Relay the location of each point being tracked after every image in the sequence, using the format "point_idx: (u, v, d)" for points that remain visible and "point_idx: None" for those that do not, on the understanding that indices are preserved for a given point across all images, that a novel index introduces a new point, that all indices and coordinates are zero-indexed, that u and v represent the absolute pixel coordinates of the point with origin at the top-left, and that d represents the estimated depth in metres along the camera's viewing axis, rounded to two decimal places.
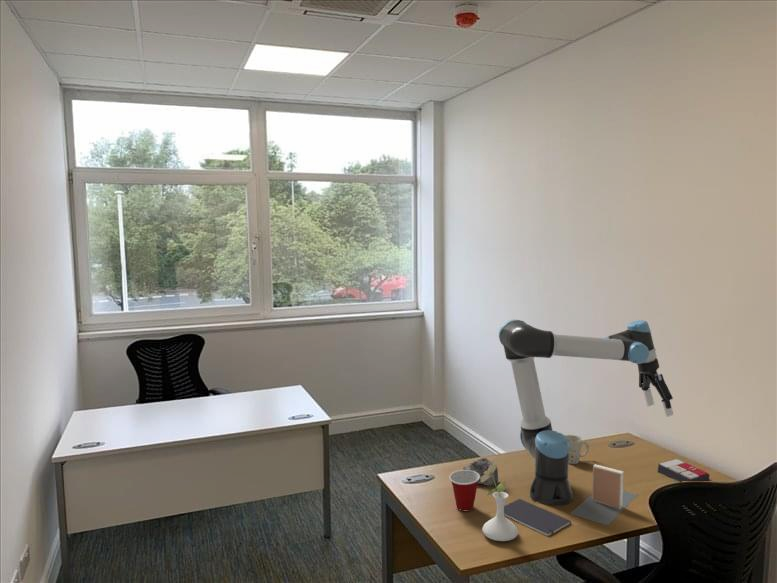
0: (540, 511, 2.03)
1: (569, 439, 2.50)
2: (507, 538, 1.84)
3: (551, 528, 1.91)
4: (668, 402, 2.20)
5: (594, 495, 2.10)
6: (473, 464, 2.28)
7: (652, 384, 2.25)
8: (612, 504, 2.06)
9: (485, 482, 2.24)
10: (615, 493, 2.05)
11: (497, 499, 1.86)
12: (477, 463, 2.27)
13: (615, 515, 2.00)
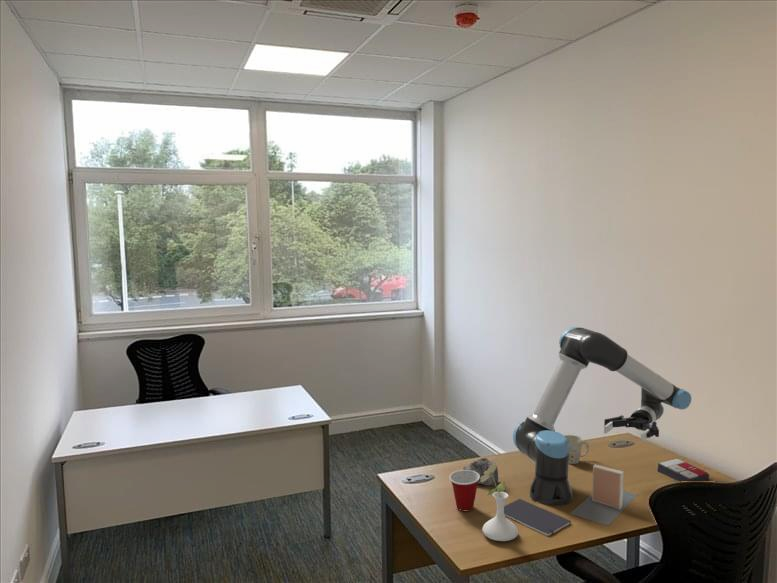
0: (540, 511, 2.03)
1: (569, 439, 2.50)
2: (507, 538, 1.84)
3: (551, 528, 1.91)
4: None
5: (594, 495, 2.10)
6: (473, 464, 2.28)
7: (643, 422, 2.24)
8: (612, 504, 2.06)
9: (485, 482, 2.25)
10: (615, 493, 2.05)
11: (497, 499, 1.86)
12: (477, 463, 2.27)
13: (615, 515, 2.00)
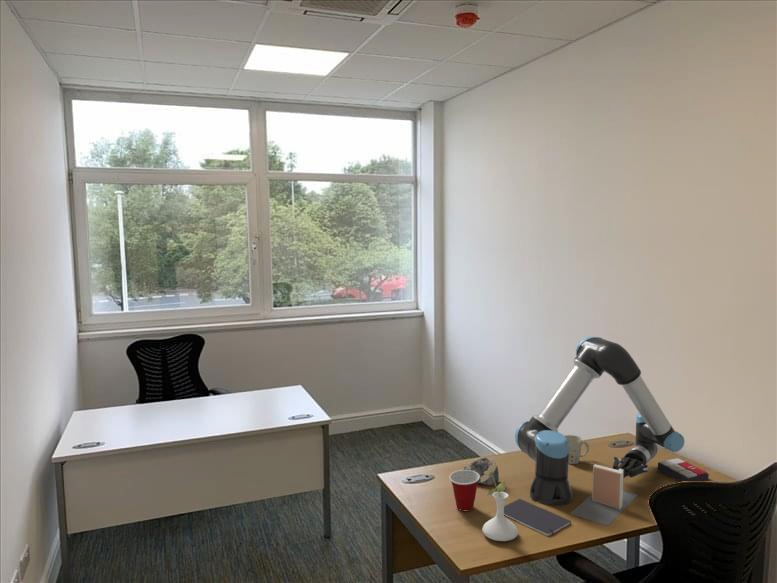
0: (540, 511, 2.03)
1: (569, 439, 2.50)
2: (507, 538, 1.84)
3: (551, 528, 1.91)
4: None
5: (594, 495, 2.10)
6: (473, 464, 2.29)
7: (631, 462, 2.23)
8: (612, 504, 2.06)
9: (485, 482, 2.25)
10: (615, 493, 2.05)
11: (497, 499, 1.86)
12: (477, 463, 2.27)
13: (615, 515, 2.00)
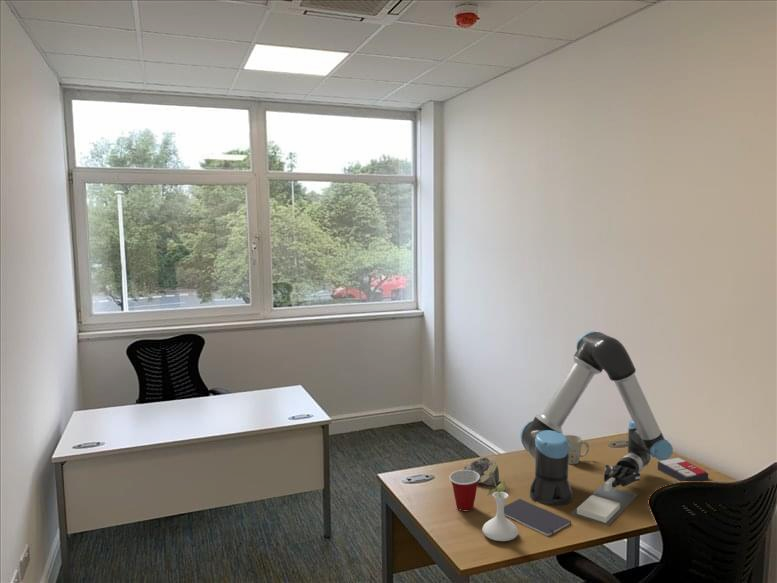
0: (540, 511, 2.03)
1: (569, 439, 2.50)
2: (507, 538, 1.84)
3: (551, 528, 1.91)
4: None
5: None
6: (474, 463, 2.29)
7: (623, 470, 2.16)
8: None
9: (485, 481, 2.25)
10: None
11: (497, 499, 1.86)
12: (478, 462, 2.28)
13: (615, 515, 2.00)
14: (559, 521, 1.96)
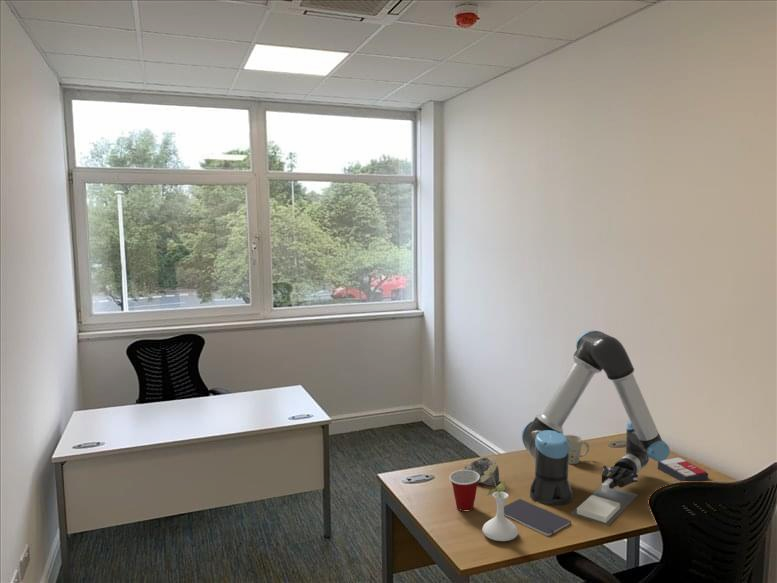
0: (540, 511, 2.03)
1: (569, 439, 2.50)
2: (507, 538, 1.84)
3: (551, 528, 1.91)
4: None
5: None
6: (474, 463, 2.29)
7: (621, 471, 2.15)
8: None
9: (485, 481, 2.25)
10: None
11: (497, 499, 1.86)
12: (478, 462, 2.28)
13: (615, 515, 2.00)
14: (559, 521, 1.96)
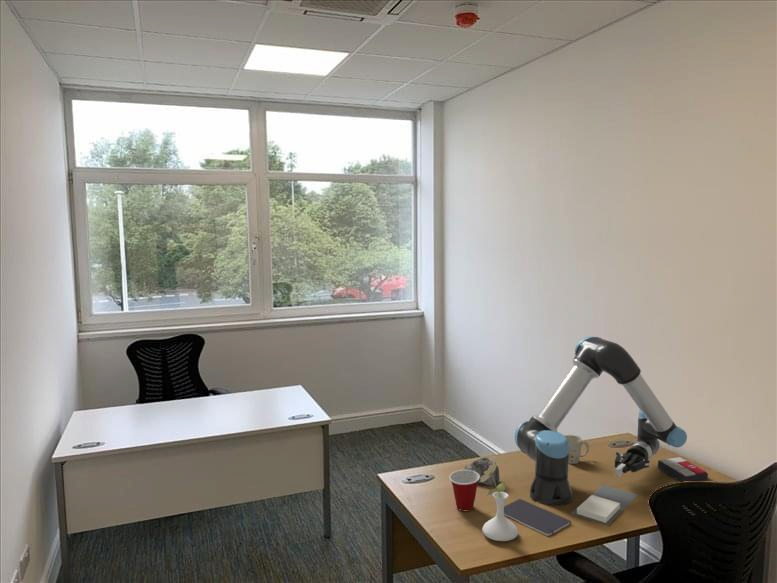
0: (540, 511, 2.03)
1: (569, 439, 2.50)
2: (507, 538, 1.84)
3: (551, 528, 1.91)
4: None
5: None
6: (474, 463, 2.29)
7: (633, 457, 2.24)
8: None
9: (485, 481, 2.25)
10: None
11: (497, 499, 1.86)
12: (478, 462, 2.28)
13: (615, 515, 2.00)
14: (559, 521, 1.96)
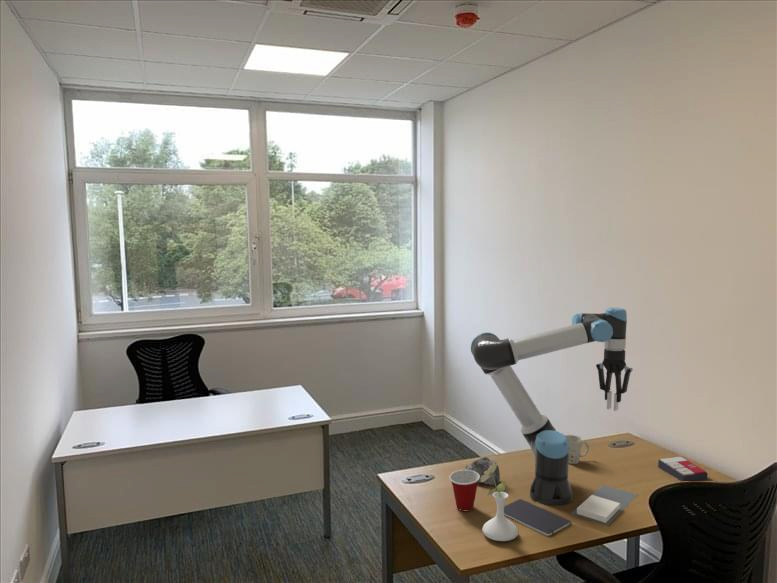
0: (540, 511, 2.03)
1: (569, 439, 2.50)
2: (507, 538, 1.84)
3: (551, 528, 1.91)
4: None
5: None
6: (474, 463, 2.29)
7: (615, 374, 2.20)
8: None
9: (485, 481, 2.25)
10: None
11: (497, 499, 1.86)
12: (478, 462, 2.28)
13: (615, 515, 2.00)
14: (559, 521, 1.96)
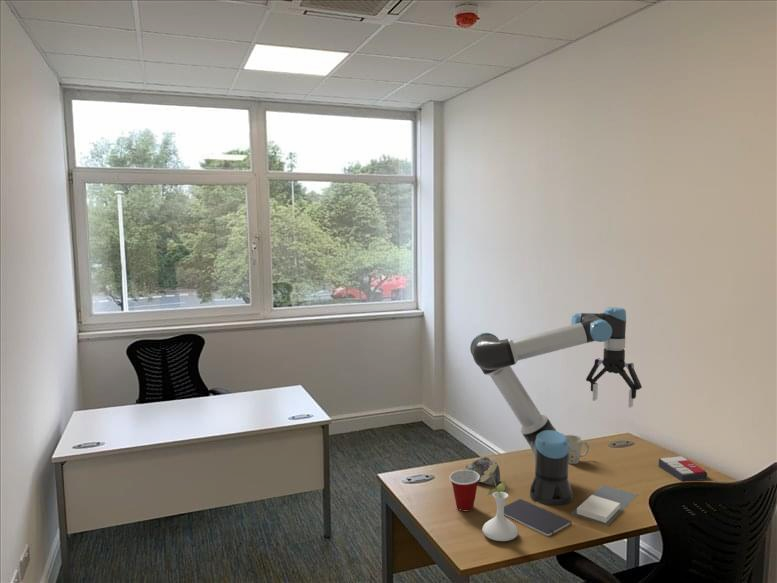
0: (540, 511, 2.03)
1: (569, 439, 2.50)
2: (507, 538, 1.84)
3: (551, 528, 1.91)
4: None
5: None
6: (475, 463, 2.30)
7: (620, 373, 2.19)
8: None
9: (486, 481, 2.25)
10: None
11: (497, 499, 1.86)
12: (479, 462, 2.28)
13: (615, 515, 2.00)
14: (559, 521, 1.96)
